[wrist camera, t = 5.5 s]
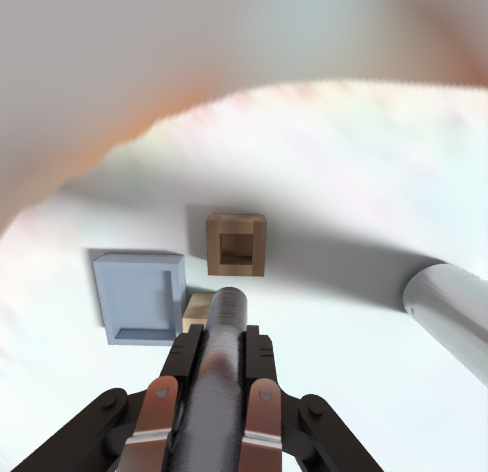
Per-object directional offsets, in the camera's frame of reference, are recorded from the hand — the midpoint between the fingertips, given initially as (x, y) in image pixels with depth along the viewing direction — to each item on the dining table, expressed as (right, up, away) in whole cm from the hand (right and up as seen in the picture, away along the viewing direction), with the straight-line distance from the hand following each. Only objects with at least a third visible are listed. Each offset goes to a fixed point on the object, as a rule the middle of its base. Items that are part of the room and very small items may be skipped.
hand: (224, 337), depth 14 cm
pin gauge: (0, +1, +3) cm, 4 cm away
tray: (-13, -3, +21) cm, 25 cm away
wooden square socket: (0, +6, +18) cm, 19 cm away
